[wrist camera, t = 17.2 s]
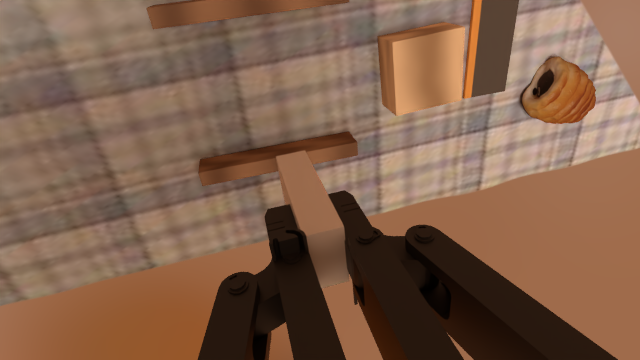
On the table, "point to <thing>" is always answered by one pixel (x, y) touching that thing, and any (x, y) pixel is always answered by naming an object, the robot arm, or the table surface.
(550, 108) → the pastry
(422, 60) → the block
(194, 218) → the table surface
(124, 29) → the table surface
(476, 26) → the pad
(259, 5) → the lane
